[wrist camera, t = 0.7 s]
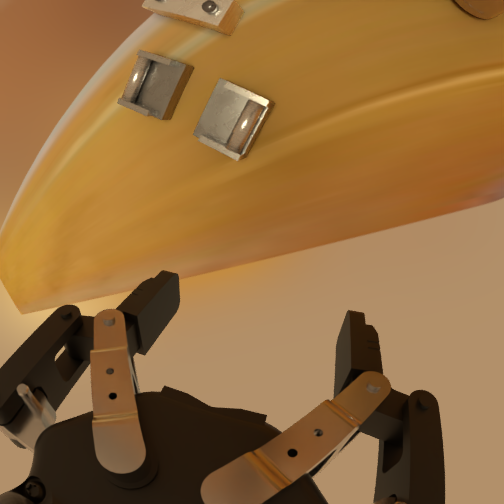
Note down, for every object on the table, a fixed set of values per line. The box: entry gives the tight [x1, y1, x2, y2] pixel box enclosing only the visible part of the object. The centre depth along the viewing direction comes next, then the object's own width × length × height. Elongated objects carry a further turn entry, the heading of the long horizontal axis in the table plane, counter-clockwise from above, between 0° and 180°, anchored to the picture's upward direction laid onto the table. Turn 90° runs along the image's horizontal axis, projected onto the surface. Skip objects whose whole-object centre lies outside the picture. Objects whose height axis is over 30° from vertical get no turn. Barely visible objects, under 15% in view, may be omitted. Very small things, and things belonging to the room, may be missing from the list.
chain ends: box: [117, 50, 275, 161], centre depth 33 cm, size 8×19×4 cm, turn 63°
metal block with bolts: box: [142, 0, 244, 36], centre depth 27 cm, size 4×12×6 cm, turn 62°
